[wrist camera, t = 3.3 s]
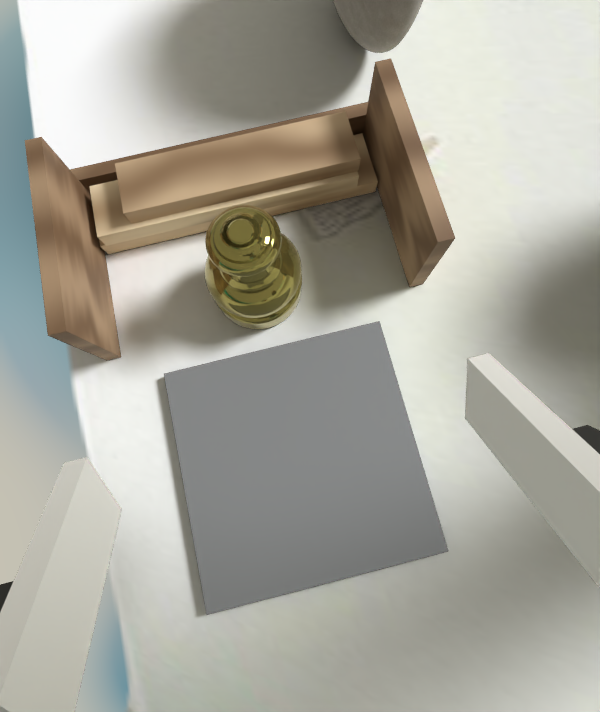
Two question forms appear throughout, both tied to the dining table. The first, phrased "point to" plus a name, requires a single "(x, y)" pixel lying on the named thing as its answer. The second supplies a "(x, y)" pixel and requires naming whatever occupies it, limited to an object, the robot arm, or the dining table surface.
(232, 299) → the gold rounded piece
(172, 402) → the charcoal mat
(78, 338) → the offcut rack
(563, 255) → the dining table surface
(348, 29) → the grey thick disc
